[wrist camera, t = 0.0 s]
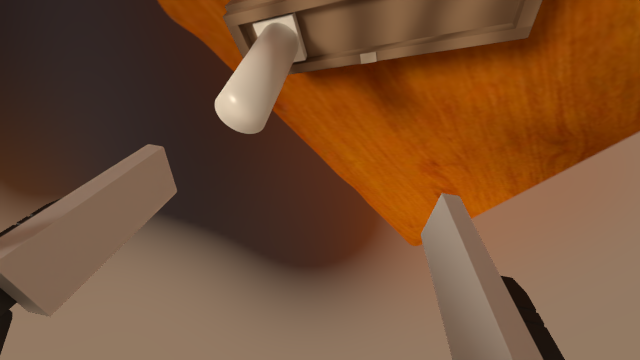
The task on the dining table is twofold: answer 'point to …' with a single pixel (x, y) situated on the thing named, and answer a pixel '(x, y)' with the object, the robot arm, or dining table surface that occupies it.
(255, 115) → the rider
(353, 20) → the beam
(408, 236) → the dining table surface
